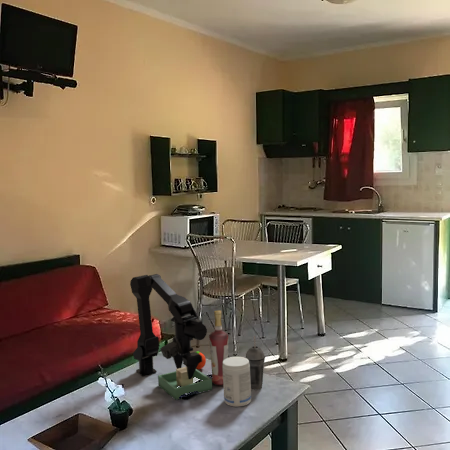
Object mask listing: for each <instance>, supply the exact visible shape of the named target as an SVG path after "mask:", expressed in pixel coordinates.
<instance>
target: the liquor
mask: <svg viewBox="0 0 450 450" xmlns="http://www.w3.org/2000/svg"><path fill="white" fill-rule="evenodd" d="M213 313H214V314H213V315H214V331H212V332H211V333H209V335H208V341H209V351H210V362H211V363H210V364H211V379H212V384H214V385H215V386H223V360H225V359H226V358H229V333H228V332H226V331H224V330H223V325H222V316H223V315H222V310H214V312H213Z"/></svg>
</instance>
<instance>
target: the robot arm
mask: <svg viewBox="0 0 450 450" xmlns="http://www.w3.org/2000/svg"><path fill="white" fill-rule="evenodd" d="M129 282H130V284H129V286H130V289H131V293H132V295H133V296H134V297H135V298H136V305H137V315H138V324H139V331H140V332H139V333H140V334H139V335H138V339H137V341H136V343H137V344H136V347H137V348H136V349H135V350H134V352H132V356H133V359H134V360H137V361H138V369H136V373H138V374H139V375H140V376H147V375H151V374H152V375H153V374H155V373H157V370H156V369H155V368H154V357H156V356H158V354H159V351H160V352H161V354H162V356H163V358H165V359H167V360H170V359H171V358H172V359H173V361H174V364H175V367H176V369H179V368H183V367H182V366H183V365H184V367H186V368H187V374H188V379H192V376H193V374H194V372H195V370H196V368H197V366H198V364H199V363H200V362H202V356H201V355H200V354H198V353H197V351H194V347H192V341H193V340H194V339H195V340H197V341H203V340H204V339H205V338H206V336H207V333H208V329H207V326H206V324H203V320H200V319H199V316H198V314H197V312H196V310H195V308H194V306H193V304H192V302H191V301H190V300H189V299H187V298H186V297H185V296H182V295H179V294H177V293H176V291H174V290H173V289H172V288H171V287H170V286H169V284H167V283H166V282H165V281H164V279H162V277H161V275H160V274H158V273H154V274H149V275H148V274H144V275H139V276H134V277H132V278H131V280H130V281H129ZM153 290H154V291H155V292H156V294H158V296H159V297H160V298H161V299H163V301H164V302H165V303H166V304H167V307H168V308H167V309H168V311H169V313H170V314H171V315H172V316H173V317H172V318H170V321H171V322H174V336H173V337H172V341H170V342H168V343H166V344H165V345H164V346H161V345H160V341H159V340H160V337H159V336H157V335H156V334H155V333H154V331H153V322H152V321H153V320H152V311H151V303H150V296H151V294H152V292H153ZM160 347H161V348H160Z"/></svg>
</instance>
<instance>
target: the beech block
mask: <svg viewBox="0 0 450 450" xmlns="http://www.w3.org/2000/svg"><path fill="white" fill-rule="evenodd" d="M175 371H176V380H177V385H178V386H181V387H182V386H185V385H189V384H193V376H192V379H188V374H187V368H186V366H184V367H181V368H179V369H177V368H176V369H175Z"/></svg>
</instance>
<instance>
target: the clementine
mask: <svg viewBox="0 0 450 450" xmlns="http://www.w3.org/2000/svg"><path fill="white" fill-rule="evenodd" d="M196 352H197V353H198V354H200V355H201V356H202V362H200V363H199V364H198V366H197V368H196V369H197V370H198V371H199V370H201V369H203V368H204V367H205V366H206V363H207V360H206V358H207V357H206V356H205V354H203V353H202V352H200V351H196Z"/></svg>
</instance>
